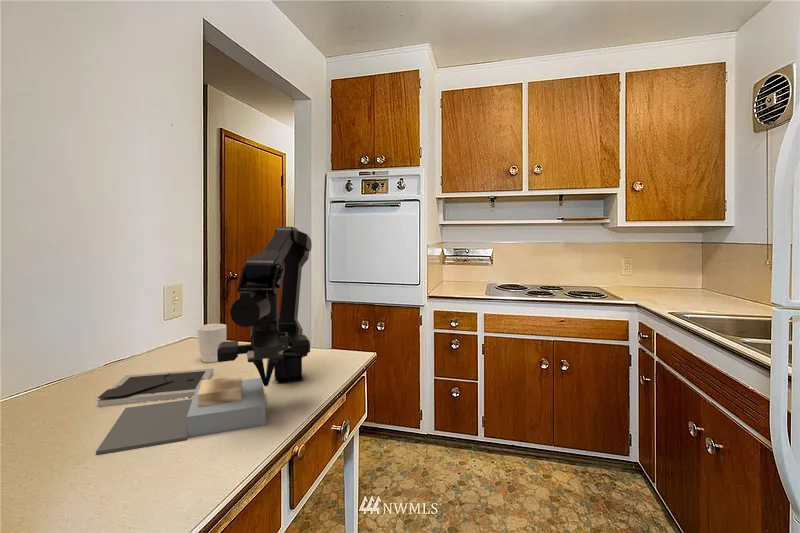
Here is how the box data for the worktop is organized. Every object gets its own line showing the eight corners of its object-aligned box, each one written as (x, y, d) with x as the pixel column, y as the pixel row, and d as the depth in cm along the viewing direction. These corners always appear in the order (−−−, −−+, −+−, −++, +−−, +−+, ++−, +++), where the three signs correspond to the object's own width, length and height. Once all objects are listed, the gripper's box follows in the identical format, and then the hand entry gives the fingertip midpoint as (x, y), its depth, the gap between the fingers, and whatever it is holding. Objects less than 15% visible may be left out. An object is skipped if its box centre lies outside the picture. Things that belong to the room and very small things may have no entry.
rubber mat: (198, 400, 90) (197, 398, 89) (187, 439, 73) (186, 436, 73) (125, 410, 84) (125, 407, 84) (96, 454, 68) (95, 451, 68)
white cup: (220, 363, 115) (218, 330, 114) (193, 363, 115) (192, 329, 114) (231, 355, 123) (231, 323, 122) (207, 354, 123) (205, 323, 122)
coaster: (241, 386, 88) (241, 375, 88) (241, 400, 81) (241, 388, 80) (202, 391, 85) (202, 380, 85) (198, 406, 78) (197, 394, 77)
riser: (262, 393, 94) (262, 377, 93) (265, 424, 79) (265, 405, 79) (197, 402, 89) (196, 385, 88) (187, 437, 74) (186, 416, 73)
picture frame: (98, 410, 86) (201, 399, 92) (97, 397, 86) (201, 388, 92) (126, 383, 101) (213, 375, 107) (125, 372, 101) (213, 365, 107)
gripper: (214, 328, 74) (216, 407, 75) (313, 320, 81) (314, 393, 82) (218, 316, 84) (220, 386, 86) (306, 310, 91) (306, 375, 92)
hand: (266, 385), depth 86 cm, fingers closed
